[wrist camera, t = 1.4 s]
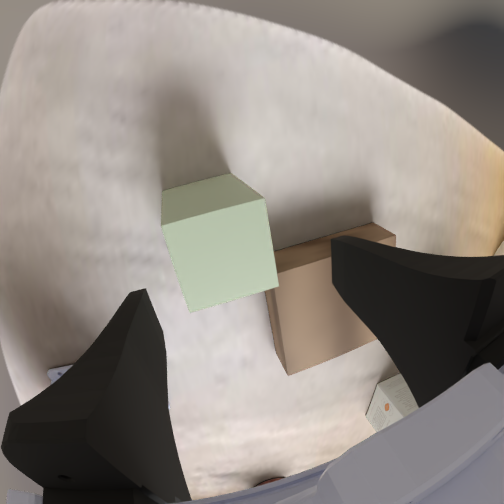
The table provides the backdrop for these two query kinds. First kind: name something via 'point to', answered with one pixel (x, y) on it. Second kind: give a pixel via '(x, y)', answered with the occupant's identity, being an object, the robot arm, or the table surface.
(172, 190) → the sage block
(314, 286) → the walnut base
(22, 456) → the robot arm
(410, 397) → the small box
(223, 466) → the table surface
